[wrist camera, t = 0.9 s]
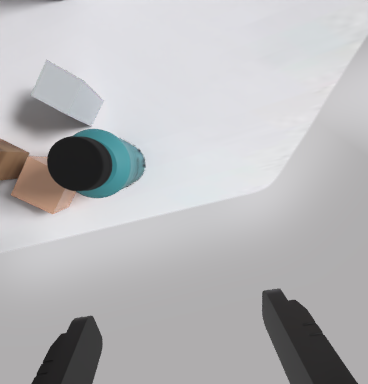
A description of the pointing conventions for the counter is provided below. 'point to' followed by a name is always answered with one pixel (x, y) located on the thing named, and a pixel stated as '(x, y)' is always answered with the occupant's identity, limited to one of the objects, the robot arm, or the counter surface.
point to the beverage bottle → (95, 163)
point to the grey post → (67, 93)
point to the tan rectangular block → (11, 160)
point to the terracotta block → (41, 187)
